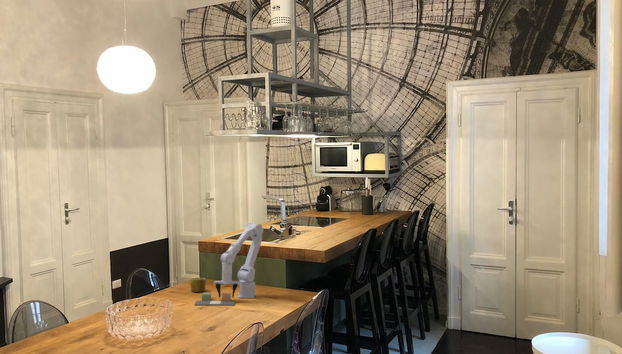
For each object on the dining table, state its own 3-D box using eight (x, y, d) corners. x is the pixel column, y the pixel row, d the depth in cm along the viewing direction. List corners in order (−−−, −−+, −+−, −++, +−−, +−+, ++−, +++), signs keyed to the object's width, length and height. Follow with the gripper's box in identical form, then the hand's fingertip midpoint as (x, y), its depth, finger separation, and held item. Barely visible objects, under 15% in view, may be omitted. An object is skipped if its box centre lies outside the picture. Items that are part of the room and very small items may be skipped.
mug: (206, 290, 310) (202, 274, 312) (190, 295, 310) (186, 279, 312) (211, 290, 322) (207, 274, 324) (196, 294, 322) (192, 279, 324)
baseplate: (235, 302, 293) (235, 300, 293) (234, 305, 285) (234, 304, 285) (196, 301, 291) (196, 300, 291) (194, 305, 283) (194, 304, 283)
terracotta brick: (230, 299, 298) (230, 292, 298) (230, 301, 294) (230, 294, 294) (222, 299, 298) (222, 292, 298) (221, 301, 293) (222, 294, 293)
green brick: (210, 299, 298) (211, 292, 298) (209, 301, 293) (210, 294, 293) (203, 299, 298) (203, 292, 298) (201, 301, 293) (202, 294, 293)
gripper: (213, 274, 291) (212, 298, 291) (239, 275, 292) (238, 298, 292) (215, 272, 298) (214, 295, 298) (239, 272, 299) (239, 295, 299)
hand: (226, 297), depth 296 cm, fingers open, 7 cm apart
